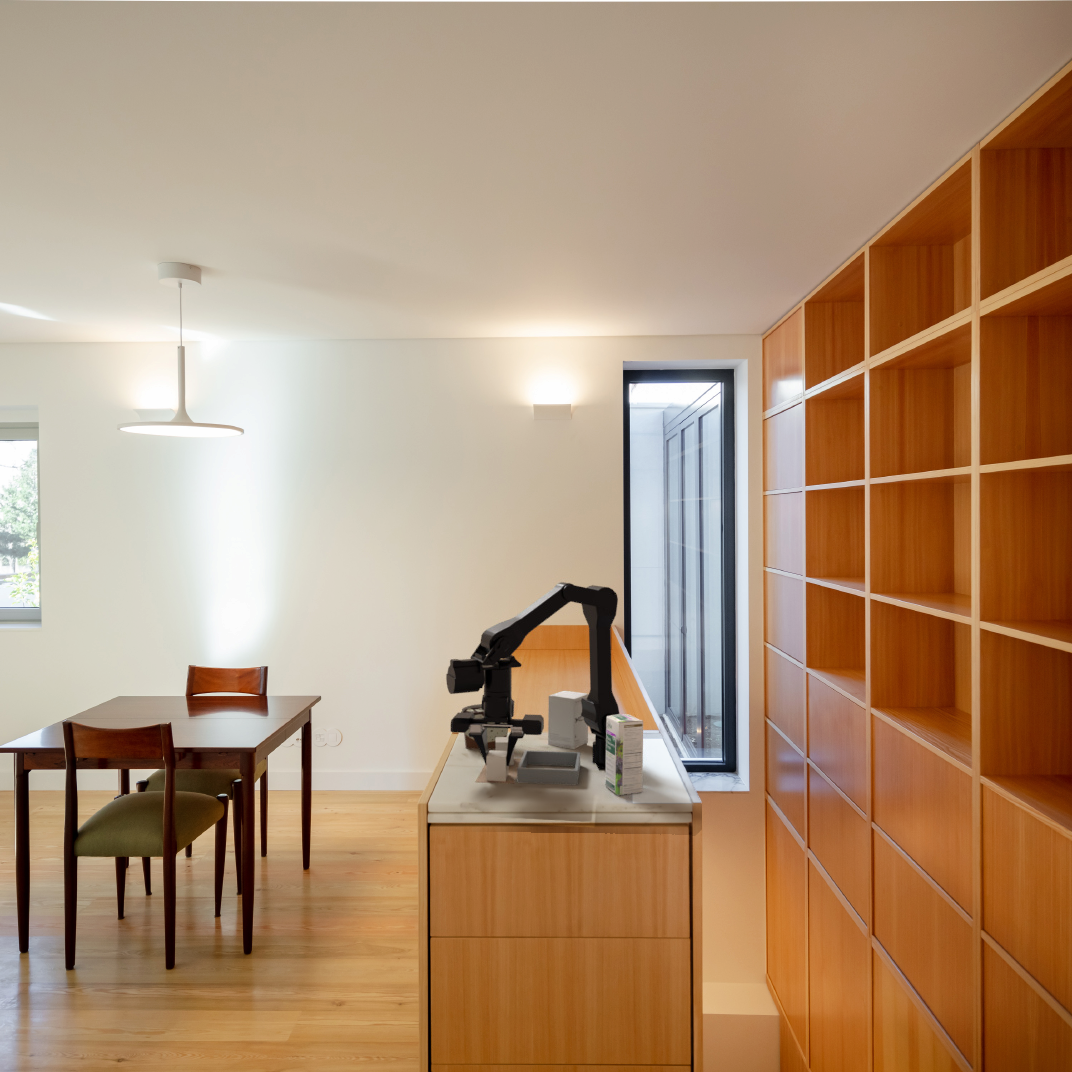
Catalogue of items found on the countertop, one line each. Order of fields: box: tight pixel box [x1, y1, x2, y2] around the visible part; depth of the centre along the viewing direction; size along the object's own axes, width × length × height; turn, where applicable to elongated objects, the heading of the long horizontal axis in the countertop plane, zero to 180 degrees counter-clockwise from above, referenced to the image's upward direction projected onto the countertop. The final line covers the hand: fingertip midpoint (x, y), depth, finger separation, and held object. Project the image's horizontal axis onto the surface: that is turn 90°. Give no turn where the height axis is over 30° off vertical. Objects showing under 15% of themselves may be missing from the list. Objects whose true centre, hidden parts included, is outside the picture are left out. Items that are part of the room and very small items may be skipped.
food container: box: [460, 703, 513, 750], centre depth 170 cm, size 12×6×10 cm, turn 84°
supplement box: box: [547, 690, 589, 750], centre depth 172 cm, size 7×7×13 cm
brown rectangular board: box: [474, 757, 521, 785], centre depth 152 cm, size 8×16×1 cm, turn 174°
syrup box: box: [604, 713, 644, 796], centre depth 143 cm, size 6×6×14 cm
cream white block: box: [494, 736, 515, 765], centre depth 157 cm, size 4×4×5 cm
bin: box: [516, 749, 581, 786], centre depth 150 cm, size 12×12×4 cm
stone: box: [486, 749, 509, 781], centre depth 147 cm, size 4×4×5 cm
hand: (497, 765), depth 147 cm, fingers closed on stone, 4 cm apart
